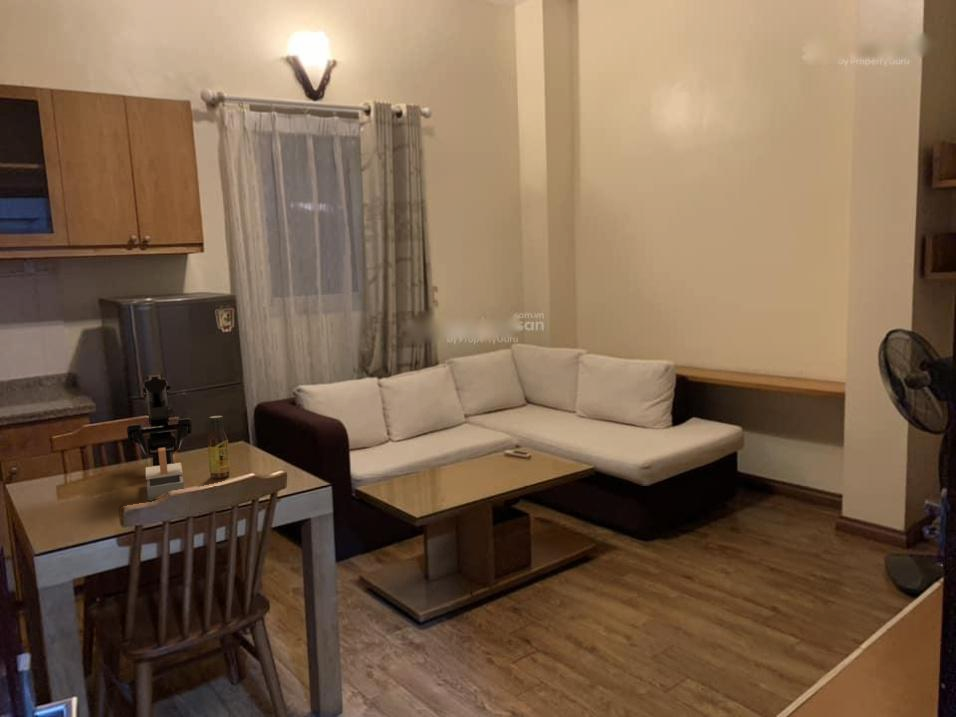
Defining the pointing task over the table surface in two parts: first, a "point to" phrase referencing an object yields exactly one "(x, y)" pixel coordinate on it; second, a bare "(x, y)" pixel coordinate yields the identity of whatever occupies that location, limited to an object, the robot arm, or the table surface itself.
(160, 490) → the parts tub
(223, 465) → the sauce bottle
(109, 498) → the table surface
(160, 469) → the lid
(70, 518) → the table surface
